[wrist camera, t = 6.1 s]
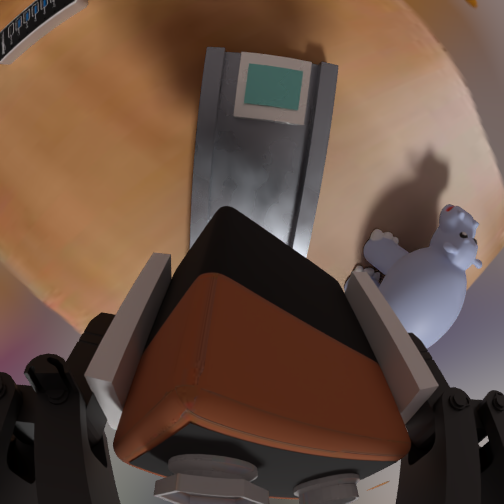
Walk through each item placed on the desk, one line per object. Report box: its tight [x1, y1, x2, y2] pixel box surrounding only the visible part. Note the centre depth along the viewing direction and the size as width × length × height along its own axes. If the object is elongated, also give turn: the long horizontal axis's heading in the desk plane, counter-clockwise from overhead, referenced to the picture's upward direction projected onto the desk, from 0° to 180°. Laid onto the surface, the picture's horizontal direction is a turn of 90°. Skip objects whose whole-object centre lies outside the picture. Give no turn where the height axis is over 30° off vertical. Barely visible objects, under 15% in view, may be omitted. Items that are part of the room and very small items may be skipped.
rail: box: [190, 47, 338, 258], centre depth 19 cm, size 20×9×6 cm, turn 173°
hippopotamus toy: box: [344, 204, 482, 349], centre depth 21 cm, size 11×15×10 cm
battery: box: [113, 206, 411, 504], centre depth 8 cm, size 4×7×10 cm, turn 54°
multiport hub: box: [0, 0, 88, 65], centre depth 12 cm, size 4×11×2 cm, turn 105°
